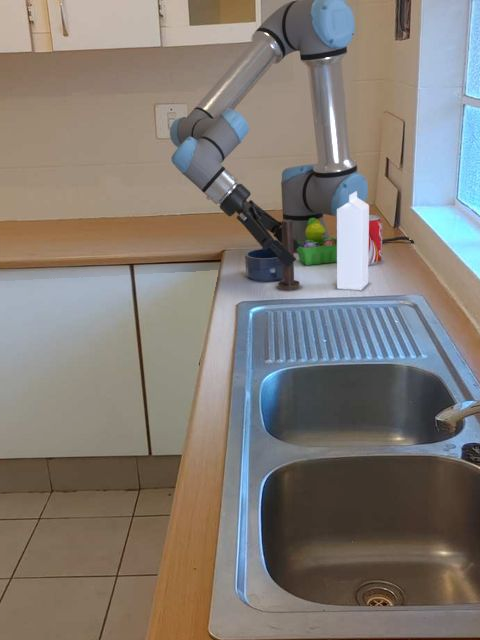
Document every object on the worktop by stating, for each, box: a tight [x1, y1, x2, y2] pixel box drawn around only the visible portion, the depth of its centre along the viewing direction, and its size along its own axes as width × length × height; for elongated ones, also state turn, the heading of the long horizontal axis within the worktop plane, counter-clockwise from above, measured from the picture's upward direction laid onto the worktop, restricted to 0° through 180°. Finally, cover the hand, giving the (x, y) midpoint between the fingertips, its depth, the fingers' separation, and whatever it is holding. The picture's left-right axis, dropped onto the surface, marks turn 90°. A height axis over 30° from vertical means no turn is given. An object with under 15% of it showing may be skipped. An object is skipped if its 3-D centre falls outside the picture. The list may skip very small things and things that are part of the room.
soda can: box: [368, 214, 383, 266], centre depth 197 cm, size 7×7×12 cm
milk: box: [336, 191, 370, 291], centre depth 176 cm, size 6×6×22 cm
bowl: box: [244, 248, 283, 282], centre depth 191 cm, size 11×12×6 cm
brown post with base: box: [277, 219, 301, 292], centre depth 179 cm, size 5×5×16 cm
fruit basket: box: [297, 218, 337, 266], centre depth 201 cm, size 11×9×11 cm
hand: (294, 256), depth 179 cm, fingers open, 13 cm apart
